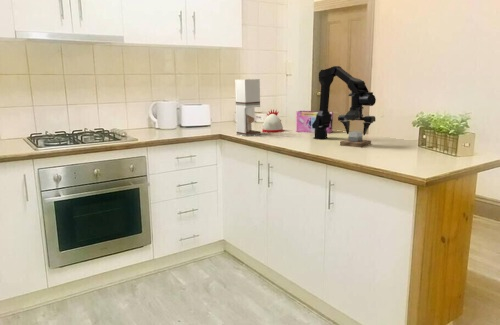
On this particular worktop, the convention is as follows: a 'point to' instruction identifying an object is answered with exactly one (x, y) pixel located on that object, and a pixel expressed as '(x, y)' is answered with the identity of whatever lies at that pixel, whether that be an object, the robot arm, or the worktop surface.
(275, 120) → the white dome
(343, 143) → the walnut stand
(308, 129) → the gum box
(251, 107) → the coffee grinder
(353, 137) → the block
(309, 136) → the worktop surface
